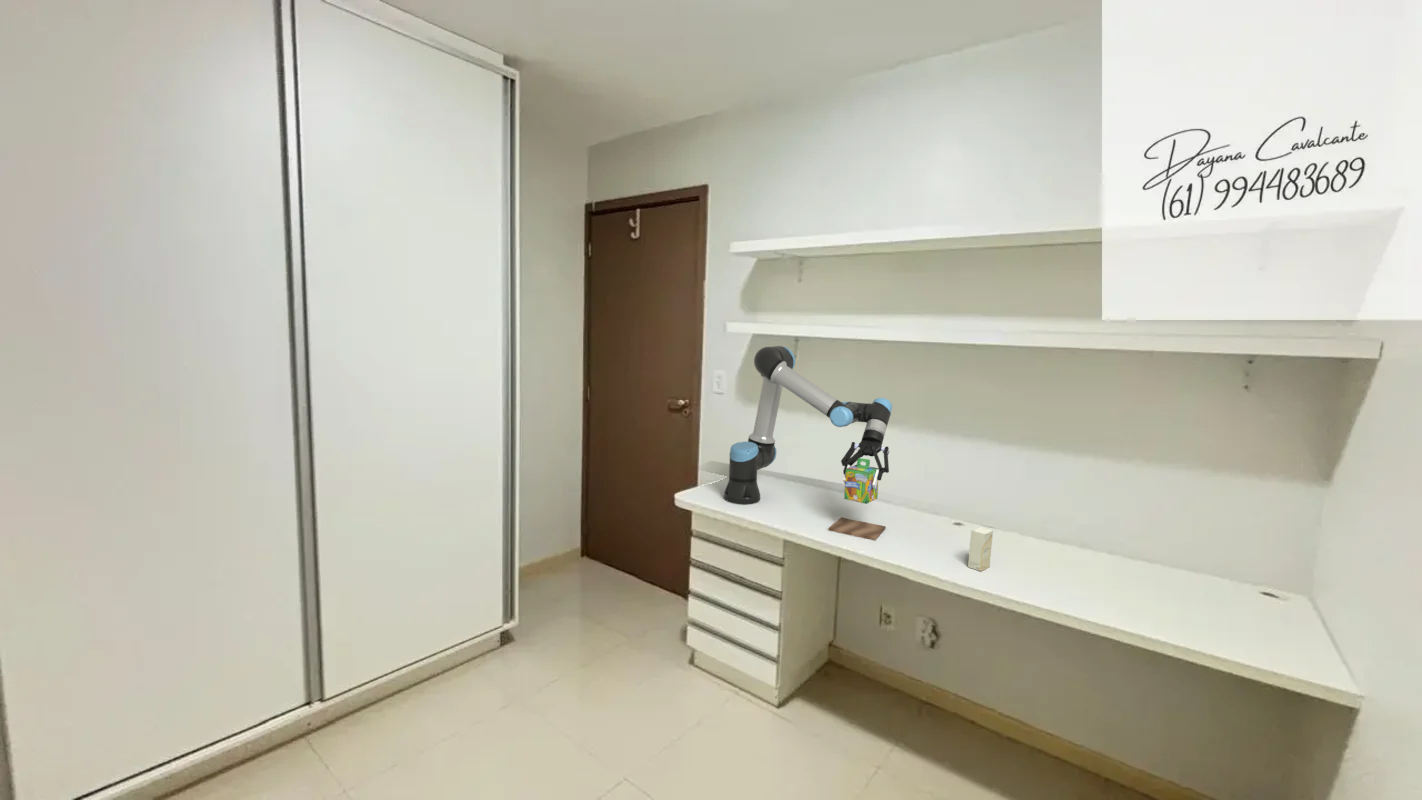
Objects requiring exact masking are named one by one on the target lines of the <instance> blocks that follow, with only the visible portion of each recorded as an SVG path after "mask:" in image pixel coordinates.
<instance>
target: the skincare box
mask: <svg viewBox="0 0 1422 800" xmlns="http://www.w3.org/2000/svg"><path fill="white" fill-rule="evenodd" d="M970 531H971V532H970V542H969V553H968V562H967V563H968V565H967V568H970V569H972V570H976V571H979V572H983V571H984V570H987V569H989V568H990V566H991V565H990V564H991V557H992V556H991V555H992V546H993V544H992V543H993V536H994V535H993V534H994V533H993V532H994V529H993V530H992V529H991V528H990V529H989V528H985V527H982V526H978V527H976V528H974V529H971V530H970Z"/></svg>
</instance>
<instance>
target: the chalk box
mask: <svg viewBox="0 0 1422 800" xmlns="http://www.w3.org/2000/svg"><path fill="white" fill-rule="evenodd" d="M862 462H863V463H865V465H863V464H861V463H862ZM870 465H871V459H868V458H862V457H860V458H858V460H857V461H856V464H855V465H854V464H853V465H852V466H851V467H849V468H846V478H845V484H844V498H843V499H844V500H848V501H852V502H857V503H861V504H866V505H867V504H870V503H872V502H874V501H875V500H878V497H879V496H878V494H879V481H878V482H877V486H876V489H873V485H872V484H873V481H874V477H875V474H876V470H877V469H878V470H879V468H878V467H876V466H875V467H874V466H870Z"/></svg>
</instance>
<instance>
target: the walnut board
mask: <svg viewBox="0 0 1422 800" xmlns="http://www.w3.org/2000/svg"><path fill="white" fill-rule="evenodd" d="M886 528H887V527H886V525H882V524H881V525H880V524H876V523H871V522H866V521H862V520H856V519H852V518H847V517H841V516H840V518H839V519H837V520H836V521H834V523H832V525H830V526H829V527H828V531H831V532H834V533H838V534H843V535H848V536H852V537H857V538H861V539H867V540H871V541H876V540H877V539H879V537H880V536H881V535H882V534H883V533H884V531H885V530H886Z"/></svg>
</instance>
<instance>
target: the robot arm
mask: <svg viewBox="0 0 1422 800" xmlns="http://www.w3.org/2000/svg"><path fill="white" fill-rule="evenodd" d="M753 364H754V367H755V370H756V371H757V372H758V374H760V377H761V378H762V384H761V390H760V396H759V400H758V404H757V405H758V406H757V410H756V411H757V412H756V417H755V421H754V425H753V426H754V427H753V431H752V433H751V434H749V435H748V439H747V441H739V442H736V443H734V444H732V445H731V447H730V450H729V451H730V452H729V471H728V475H729V477H728V482H727V485H726V487H725V490H724V496H723V498H724V500H725V501H726V502H729V503H732V504H737V505H738V504H739V505H751V504H756V503H759V502H760V501H761V493H760V489H759V485H758V482H757V480H758V471H759V470H761V469H764V468H767V467H769V466H770V465H771V464H772V463H773V462H775V459H776V457H777V448H776V446H775V444H776V440H775V438H774V437H773V436H774V431H775V428H776V427H775V426H776V421H777V420H776V419H777V416H778V412H779V411H778V410H779V406H780V403H781V402H780V401H781V396H782V391H783V388H785V389H786V390H788V391H789V392H791V393H792V394H793V395H795V396H797V397H798V398H799V399H801V400H803V401H804V402H805V403H807V404H808V405H809V406H811V407H813V408H814V409H816V410H817V411H818V412H820V413H822V414H823V415H825V416H826V417H828V419H829V420H830V422H831V424H832V425H833V426H835V427H837V428H842V427H843V428H844V427H848V426H850V425H851V424H854V423H856V422H857V423H866V425H865V428H864V429H863V430H864V431H863V434H862V437H861V441H860V442H859V443H856V442H854V441H852V442H851V444H850V447H849V449H848V451H846V453H845V454H844V456H843V457H842V459H841V460H840V462H841V466H842V467H844V468H843V472H842V473H843V475H844V476H843V479H842V481H843V485H845V478H846V468H849V467H852V466H854V464H855V463H857V461H858V458H862V457H863V456H866V457H868V456H869V457H874V460H875V462H876V466H877V468H878V469H879V470H878V469H877V470H876V474H875V477H874V481H873V484H872V485H873V489H876V486H877V482H878V483H879V481H881V480H882V477H883V474H884V473H886V474H888V473H889V472H890V468H889V467H890V466H889V454H890V449H889V446H882V445H883V442H884V438H885V436H886V432H887V427H888V424H889V421H890V419H891V418H890V417H891V416H892V410H893V404H892V403H891V401H890V400H888V399H887V398H884V397H878V398H875V399H873V402H872V403H864V402H853V401H840V400H838V398H836V397H835V396H833V395H832V394H830V393H829V392H827V391H825V390H824V389H822V388H821V387H820V386H818V385H817V384H815V383H814V382H812V381H811V380H809V379H808V378H806V377H804V376H803V375H801V374H800V373H799V372H797V371H795V370H794V368H795V364H796V358H795V355H794V353H793V351H792V349H790V348H789V347H787V346H783V345H776V346H775V345H774V346H764V347H762V348H760V349H759V350H758V351H757V352H756V354H755V356H754V358H753ZM858 448H859V449H858ZM857 449H858V450H857ZM856 450H857V452H855V451H856ZM880 452H882V454H883V462H884V463H883V464H884V465H882V463H881V460H880V458H879V455H878V454H879V453H880ZM883 466H884V467H883Z"/></svg>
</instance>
